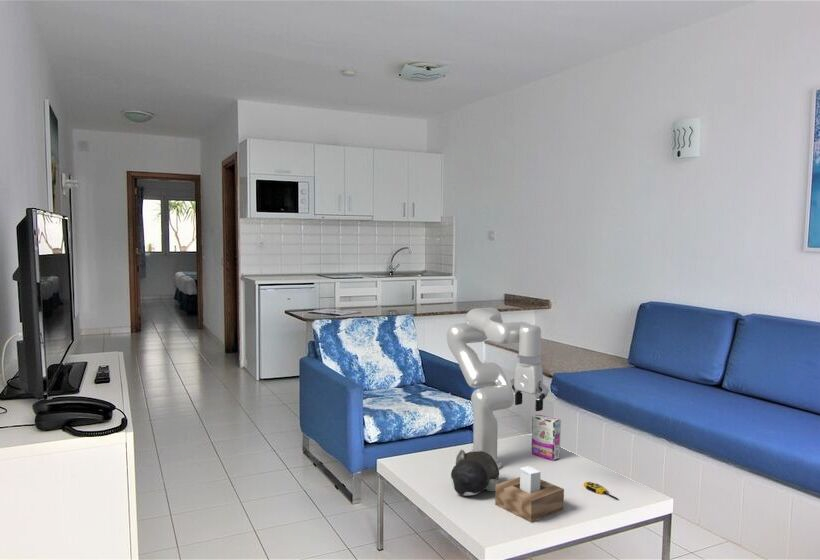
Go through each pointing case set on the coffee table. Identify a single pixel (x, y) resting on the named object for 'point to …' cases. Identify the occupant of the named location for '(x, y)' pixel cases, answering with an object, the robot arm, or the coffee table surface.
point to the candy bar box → (546, 437)
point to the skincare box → (529, 479)
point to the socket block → (529, 499)
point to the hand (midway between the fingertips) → (528, 407)
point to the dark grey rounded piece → (474, 473)
